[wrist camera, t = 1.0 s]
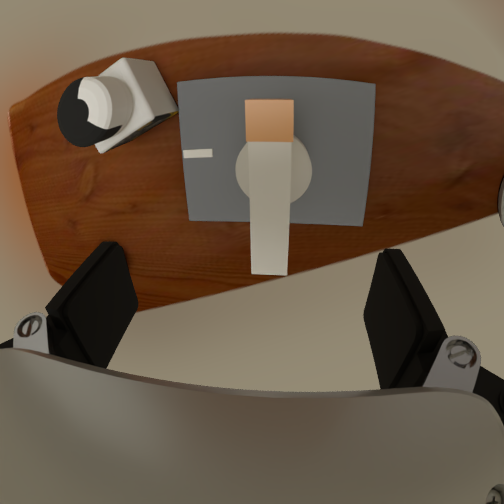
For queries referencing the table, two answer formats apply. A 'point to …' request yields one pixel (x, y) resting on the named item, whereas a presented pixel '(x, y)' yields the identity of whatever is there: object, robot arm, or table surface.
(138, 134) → the medicine bottle
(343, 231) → the table surface
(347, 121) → the coupling base
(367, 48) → the table surface
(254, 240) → the grey and orange blocks
